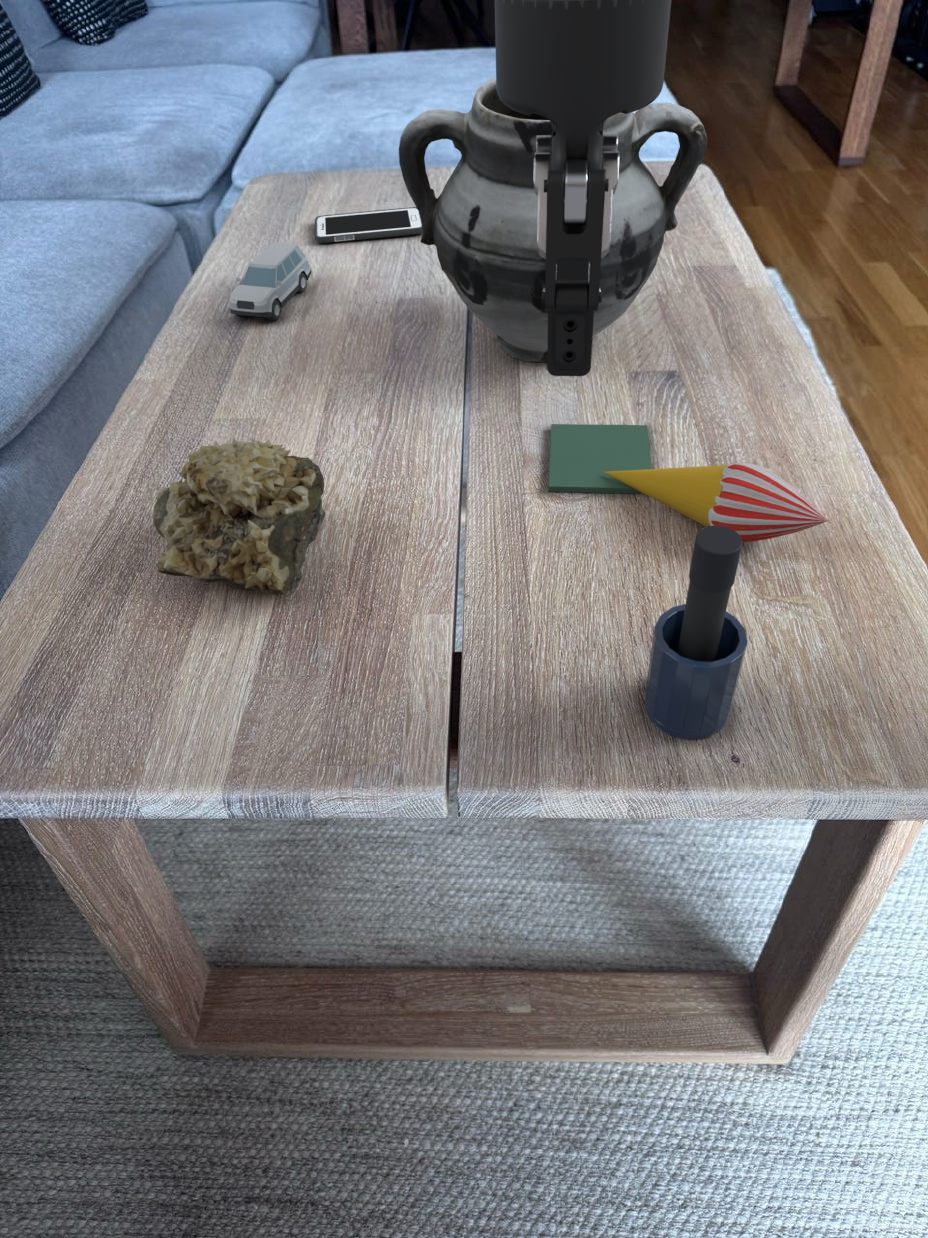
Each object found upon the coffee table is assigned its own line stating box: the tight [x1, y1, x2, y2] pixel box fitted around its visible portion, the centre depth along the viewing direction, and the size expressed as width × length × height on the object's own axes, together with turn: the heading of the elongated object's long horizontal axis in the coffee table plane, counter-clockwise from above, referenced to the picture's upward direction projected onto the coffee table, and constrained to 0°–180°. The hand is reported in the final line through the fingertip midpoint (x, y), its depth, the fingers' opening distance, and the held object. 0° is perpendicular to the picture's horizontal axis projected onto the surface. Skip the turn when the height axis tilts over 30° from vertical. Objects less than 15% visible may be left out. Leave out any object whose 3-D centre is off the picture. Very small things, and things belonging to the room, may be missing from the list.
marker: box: [677, 526, 744, 662], centre depth 56 cm, size 3×3×14 cm
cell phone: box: [314, 206, 422, 244], centre depth 123 cm, size 8×15×1 cm, turn 97°
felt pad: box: [547, 423, 652, 494], centre depth 82 cm, size 9×10×1 cm
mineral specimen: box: [152, 438, 326, 597], centre depth 71 cm, size 14×13×10 cm
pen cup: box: [644, 603, 749, 740], centre depth 59 cm, size 6×6×7 cm
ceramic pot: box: [398, 76, 708, 363], centre depth 90 cm, size 29×23×25 cm
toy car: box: [229, 242, 312, 321], centre depth 107 cm, size 6×13×5 cm, turn 163°
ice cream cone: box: [604, 462, 829, 543], centre depth 74 cm, size 6×6×20 cm
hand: (569, 333), depth 49 cm, fingers open, 8 cm apart
